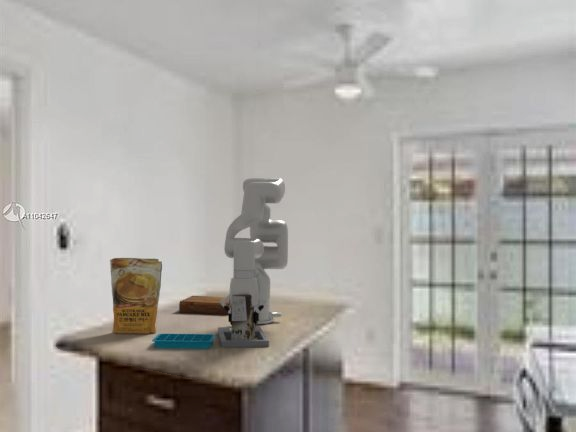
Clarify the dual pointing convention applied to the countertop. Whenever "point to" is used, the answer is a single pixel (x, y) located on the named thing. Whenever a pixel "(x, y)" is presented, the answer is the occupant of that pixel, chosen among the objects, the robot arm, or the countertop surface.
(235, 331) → the coffee box
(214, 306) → the diary
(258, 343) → the grey plastic frame
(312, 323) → the countertop surface
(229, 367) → the countertop surface
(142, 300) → the pancake mix bag
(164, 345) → the ice cube tray
